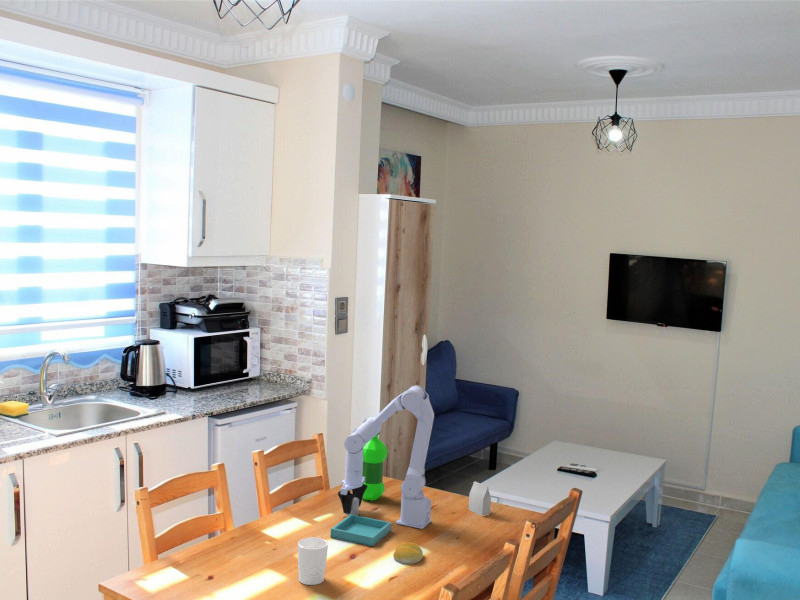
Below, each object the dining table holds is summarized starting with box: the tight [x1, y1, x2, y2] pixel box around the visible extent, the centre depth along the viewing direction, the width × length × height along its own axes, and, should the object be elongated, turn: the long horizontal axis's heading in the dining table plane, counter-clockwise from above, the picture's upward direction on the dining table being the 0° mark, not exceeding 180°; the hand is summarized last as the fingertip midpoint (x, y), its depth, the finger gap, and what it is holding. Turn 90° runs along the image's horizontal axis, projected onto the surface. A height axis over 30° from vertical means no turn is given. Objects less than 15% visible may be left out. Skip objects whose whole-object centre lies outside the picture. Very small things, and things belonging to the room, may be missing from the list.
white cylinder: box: [344, 497, 360, 517], centre depth 249 cm, size 4×4×5 cm
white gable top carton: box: [468, 481, 492, 517], centre depth 256 cm, size 4×7×10 cm, turn 37°
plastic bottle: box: [362, 431, 389, 502], centre depth 264 cm, size 10×10×25 cm
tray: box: [330, 514, 392, 547], centre depth 233 cm, size 14×14×3 cm
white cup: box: [297, 536, 329, 586], centre depth 200 cm, size 8×8×10 cm
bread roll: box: [392, 541, 424, 565], centre depth 217 cm, size 8×9×4 cm
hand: (351, 509), depth 249 cm, fingers open, 7 cm apart
